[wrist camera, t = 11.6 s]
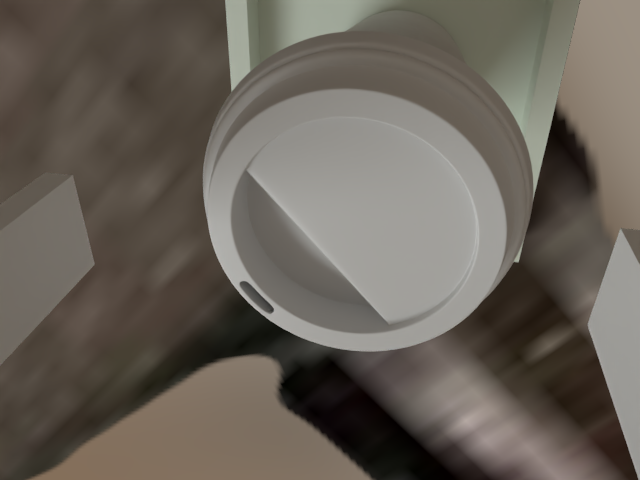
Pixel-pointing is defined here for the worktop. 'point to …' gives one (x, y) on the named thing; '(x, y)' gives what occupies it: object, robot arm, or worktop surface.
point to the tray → (458, 20)
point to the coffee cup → (367, 185)
